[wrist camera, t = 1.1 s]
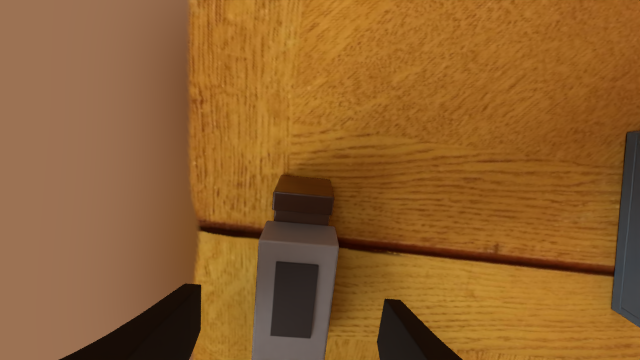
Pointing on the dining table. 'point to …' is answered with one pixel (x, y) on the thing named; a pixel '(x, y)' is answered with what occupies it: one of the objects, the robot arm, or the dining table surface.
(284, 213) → the brown drawer handle
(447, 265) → the dining table surface
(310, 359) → the grey block
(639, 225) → the tray
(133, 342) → the robot arm
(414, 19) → the dining table surface
